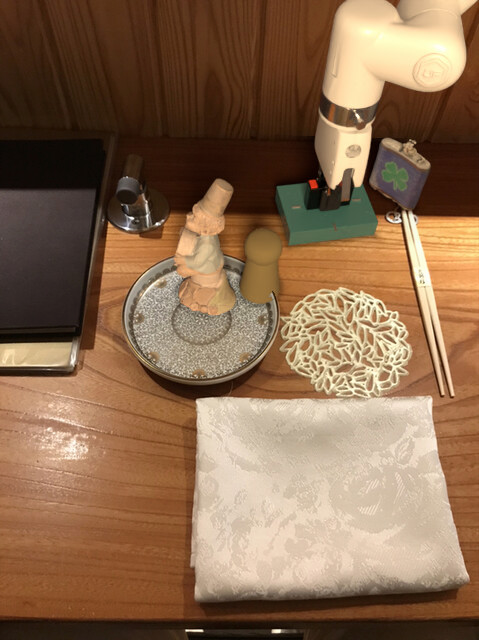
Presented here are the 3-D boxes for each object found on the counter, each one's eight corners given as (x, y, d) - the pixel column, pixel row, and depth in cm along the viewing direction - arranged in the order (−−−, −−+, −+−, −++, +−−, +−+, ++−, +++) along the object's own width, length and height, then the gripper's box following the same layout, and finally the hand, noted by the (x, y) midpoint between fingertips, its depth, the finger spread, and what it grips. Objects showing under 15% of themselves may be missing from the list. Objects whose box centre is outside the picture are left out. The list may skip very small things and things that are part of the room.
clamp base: (355, 187, 95) (359, 173, 92) (375, 238, 89) (379, 224, 86) (274, 196, 93) (275, 182, 91) (289, 248, 88) (291, 235, 85)
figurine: (238, 272, 85) (241, 173, 68) (234, 320, 80) (237, 225, 63) (179, 269, 85) (168, 168, 68) (172, 316, 80) (158, 220, 63)
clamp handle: (346, 197, 89) (352, 174, 85) (349, 205, 89) (355, 183, 85) (303, 202, 89) (307, 179, 85) (306, 210, 88) (310, 188, 84)
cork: (233, 295, 82) (234, 247, 73) (247, 265, 86) (250, 216, 76) (271, 309, 81) (278, 262, 72) (285, 278, 84) (293, 229, 75)
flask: (365, 183, 95) (380, 132, 86) (376, 175, 97) (392, 123, 88) (409, 213, 92) (430, 163, 83) (419, 204, 93) (441, 154, 84)
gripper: (395, 140, 69) (364, 238, 85) (359, 63, 77) (336, 165, 93) (337, 147, 68) (316, 244, 84) (306, 68, 77) (292, 170, 92)
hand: (326, 202), depth 88 cm, fingers closed on clamp handle, 2 cm apart
